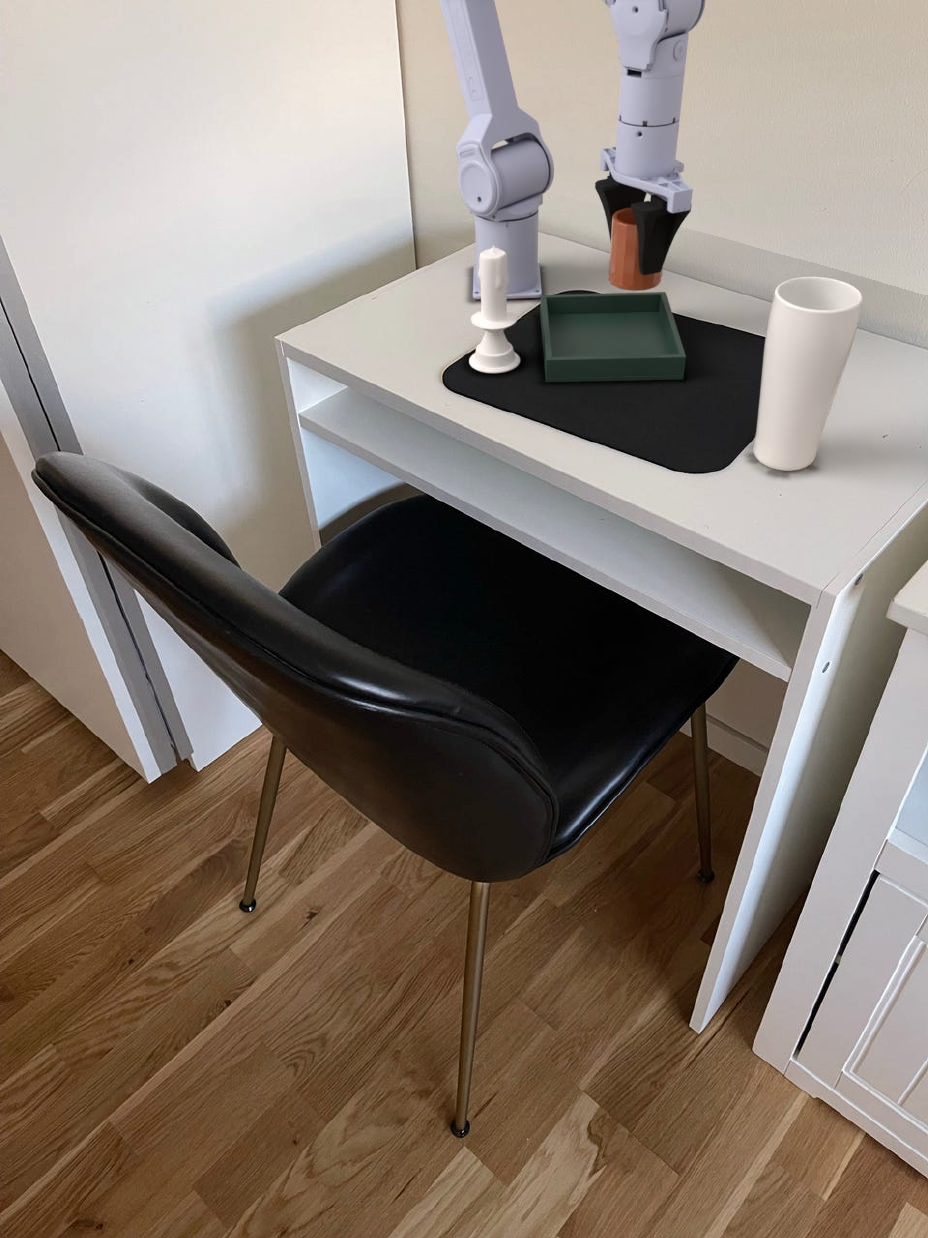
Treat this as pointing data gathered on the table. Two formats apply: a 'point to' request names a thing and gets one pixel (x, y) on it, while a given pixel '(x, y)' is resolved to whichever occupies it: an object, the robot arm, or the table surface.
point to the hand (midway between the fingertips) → (636, 261)
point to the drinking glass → (803, 367)
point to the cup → (627, 255)
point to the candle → (494, 316)
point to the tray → (610, 338)
